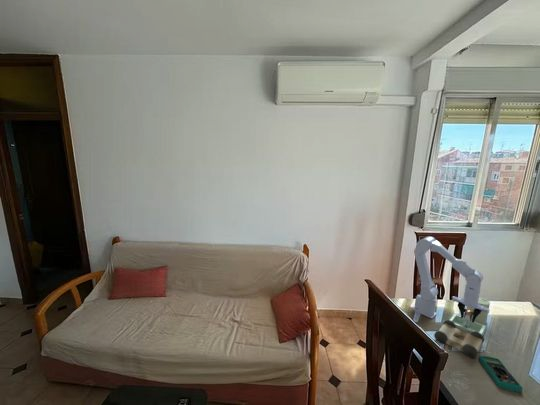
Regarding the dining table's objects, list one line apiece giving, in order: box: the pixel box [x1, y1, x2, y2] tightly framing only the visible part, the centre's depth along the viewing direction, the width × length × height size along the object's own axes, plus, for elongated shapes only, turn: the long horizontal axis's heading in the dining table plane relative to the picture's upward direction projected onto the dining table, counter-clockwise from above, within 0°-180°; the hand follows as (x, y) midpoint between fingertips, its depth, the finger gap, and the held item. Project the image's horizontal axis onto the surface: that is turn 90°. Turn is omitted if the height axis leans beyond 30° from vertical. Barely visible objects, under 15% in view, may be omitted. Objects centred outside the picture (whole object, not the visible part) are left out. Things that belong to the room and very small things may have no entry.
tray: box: [449, 313, 487, 336], centre depth 123 cm, size 13×11×4 cm
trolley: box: [433, 319, 485, 359], centre depth 114 cm, size 16×15×5 cm
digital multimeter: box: [478, 355, 523, 393], centre depth 97 cm, size 7×15×3 cm, turn 164°
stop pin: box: [462, 308, 473, 329], centre depth 122 cm, size 4×4×9 cm
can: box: [466, 296, 491, 325], centre depth 132 cm, size 9×9×12 cm
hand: (467, 319), depth 123 cm, fingers closed on stop pin, 4 cm apart
